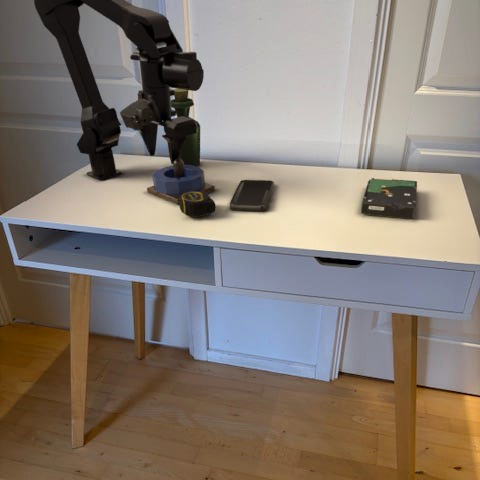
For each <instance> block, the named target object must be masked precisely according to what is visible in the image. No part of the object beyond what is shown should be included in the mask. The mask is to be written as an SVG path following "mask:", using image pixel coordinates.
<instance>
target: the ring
mask: <svg viewBox="0 0 480 480" xmlns="http://www.w3.org/2000/svg"><path fill="white" fill-rule="evenodd" d="M184 170H185V177H182V178H174V169H173V165H166V166H163V167H160V168H158V169H156V170H155V171H154V172H153V173H152V174H151V175H152V182H153V186H154V188H155V190H156V191H157V192H159V193H162V194H166V195H183V194H185V193H188V192H196V191H198V190H201V189H202V188H203V186H204V185H205V182H206V180H205V170H204V169H202V167H200V166H198V167H197V166H193V165H184Z"/></svg>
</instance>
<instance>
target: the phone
mask: <svg viewBox="0 0 480 480" xmlns="http://www.w3.org/2000/svg"><path fill="white" fill-rule="evenodd" d="M274 188H275V181H274V180H268V179H267V180H265V179H242V180H240V181H239V183H238V186H237V188H236V189H235V192H234V193H233V195H232V198H231V200H230V202H229V209H230V210H232V211H247V212H265V211H267V210H268V207H269V203H270V201H271V197H272V194H273V192H274Z"/></svg>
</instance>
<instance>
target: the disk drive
mask: <svg viewBox="0 0 480 480" xmlns="http://www.w3.org/2000/svg"><path fill="white" fill-rule="evenodd" d="M417 191H418V181H416V180H408V179H407V180H405V179H395V178H392V179H385V178H384V179H383V178H375V177H371V178H370V179H368V181H367V185H366V188H365V191H364V195H363V198H362V201H361V208H360V214H361V215H362V214H363V215H369V216H379V217H387V218H399V219H414V218H415V212H416V207H417V202H416V201H417Z"/></svg>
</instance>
